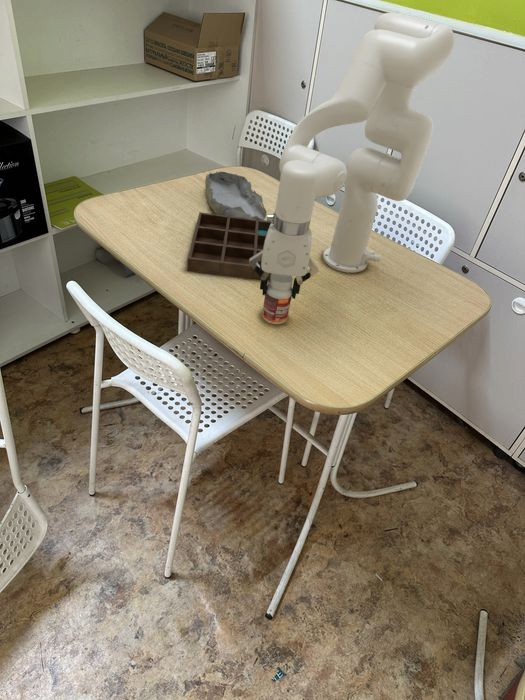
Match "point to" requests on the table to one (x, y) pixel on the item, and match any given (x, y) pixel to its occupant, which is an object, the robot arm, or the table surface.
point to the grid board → (226, 245)
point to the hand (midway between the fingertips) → (278, 293)
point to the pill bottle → (277, 298)
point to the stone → (233, 196)
